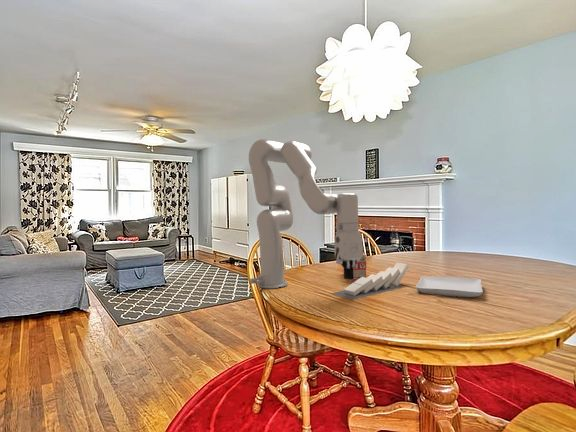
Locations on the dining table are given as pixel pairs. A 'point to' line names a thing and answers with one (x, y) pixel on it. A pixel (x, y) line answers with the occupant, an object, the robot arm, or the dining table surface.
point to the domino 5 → (402, 269)
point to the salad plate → (450, 286)
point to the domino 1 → (358, 286)
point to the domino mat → (370, 292)
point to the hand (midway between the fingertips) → (348, 278)
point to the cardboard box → (359, 269)
